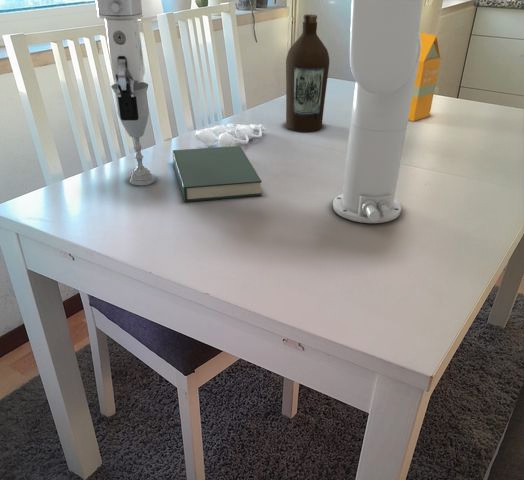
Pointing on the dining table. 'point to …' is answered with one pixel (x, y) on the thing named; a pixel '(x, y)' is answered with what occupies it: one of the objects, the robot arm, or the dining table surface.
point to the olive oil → (306, 79)
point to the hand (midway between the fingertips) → (132, 112)
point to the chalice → (137, 131)
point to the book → (215, 174)
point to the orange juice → (425, 78)
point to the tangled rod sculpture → (228, 134)
